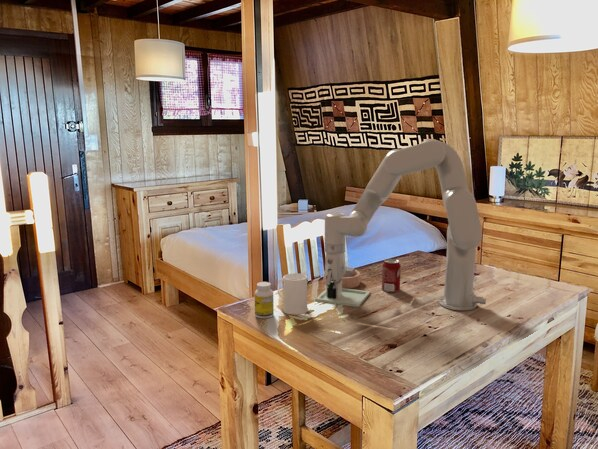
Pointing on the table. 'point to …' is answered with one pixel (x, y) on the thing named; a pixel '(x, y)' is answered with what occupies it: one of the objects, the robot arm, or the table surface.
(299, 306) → the mug
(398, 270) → the soda can
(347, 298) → the parts tray
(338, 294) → the beige block
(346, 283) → the bowl
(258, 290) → the pill bottle
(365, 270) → the table surface
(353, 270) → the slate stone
